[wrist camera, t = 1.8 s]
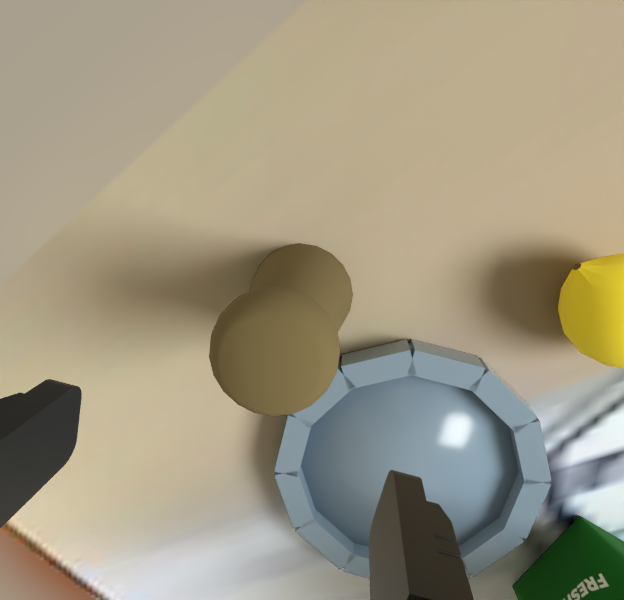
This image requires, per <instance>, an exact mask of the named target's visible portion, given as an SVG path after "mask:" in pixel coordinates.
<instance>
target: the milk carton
mask: <svg viewBox="0 0 624 600" xmlns="http://www.w3.org/2000/svg"><path fill="white" fill-rule="evenodd" d="M513 589H514V591H515V593H516V596H517V598H518V600H624V542H623V541H622V540H620V539H618V538H617V537H615V536H613V535H611V534H610V533H608V532H606V531H605V530H603V529H601V528H600V527H598V526H596V525H594V524H593V523H591V522H589V521H588V520H586V519H584V518H583V517H581V516H579V517H578V518H577V519H576V520H575V521H574V522H573V524H572V525H571V526H570V527H569V528H568V529H567V530H566V531H565V532H564V533H563V534H562V535H561V536H560V537H559V538H558V539H557V540H556V541H555V542H554V543H553V544H552V546H551V547H550V548H549V549H548V550H547V551H546V552H545V553H544V554H543V555H542V556H541V557H540V558H539V559H538V560H537V561H536V562H535V563H534V564H533V565H532V566H531V568H530V569H529V570H528V571H527V572H526V573H525V574H524V575H523V576H522V577H521V578H520V579H519V580H518V581H517V582H516V583H515V584H514V585H513Z"/></svg>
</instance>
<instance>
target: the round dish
mask: <svg viewBox="0 0 624 600" xmlns="http://www.w3.org/2000/svg"><path fill="white" fill-rule="evenodd" d="M390 470H395V471H398V472H402V473H406V474H410V475H414V476H417V477H420V478H421V479H422V483H423V487H424V492H425V496H426V501H429V502H433V503H437V504H439V505H440V506H441V508H442V509H443V511H444V512H445V513H446V515H447V516H448V518H449V519H450V520H451V522H452V525H453V529H454V532H455V536H456V539H457V541H456V543H457V544H458V546H459V550H460V553H461V559H462V561H463V564H464V568H465V571H466V575H467V578H468V579H469V574H468V572H469V573H470V574H471V575H472V576H473V577H474V576H476V575H477V574H479V573H480V572H481V571H483V570H484V569H486V568H487V567H489V566H490V565H492V564H493V563H494V562H496V561H497V560H499V559H500V558H502V557H503V556H505V555H506V554H507V553H509V552H510V551H512V550H513V549H515V548H516V547H518V546H519V545H520V544H522V543H523V542H524V541H523V539H522V538H525V539H527V537H528V535H529V533H530V530H531V528H532V526H533V524H534V522H535V519H536V517H537V515H538V513H539V510H540V508H541V506H542V504H543V502H544V499H545V497H546V495H547V493H548V491H549V488H550V486H551V484H550V483H549V481H551V476H550V471H549V466H548V461H547V456H546V451H545V446H544V441H543V436H542V431H541V426H540V421H539V420H538V418H537V416H536V415H535V413H534V412H533V411H532V409H531V408H530V407H529V405H528V404H527V403H526V402H525V401H524V400H523V399H522V398H521V397H520V396H519V395H518V394H517V393H516V392H515V391H514V390H513V389H512V388H511V387H510V386H509V385H508V384H507V383H506V382H505V381H504V380H503V379H502V378H501V377H500V376H499V375H498V374H497V373H496V372H495V371H494V370H493V369H492V368H491V367H490V366H489V365H487V364H486V363H485V362H484V361H483V360H482V359H480V360H479V358H478V357H477V356H475V355H471V354H467V353H463V352H459V351H456V350H452V349H448V348H444V347H440V346H436V345H432V344H428V343H424V342H421V341H417V340H413V339H411V342H410V343H408V342H407V339H405V340H401V341H397V342H393V343H389V344H385V345H380V346H376V347H372V348H368V349H364V350H360V351H356V352H352V353H347V354H343V355H342V360H341V359H340V358H339V362H338V368H337V374H336V375H335V377H334V379H333V381H332V383H331V384H330V386H329V388H328V390H327V391H326V392H325V393H324V394H323V395H322V396H321V397H320V398H319V399H318V400H317V401H316V402H315V403H313V404H312V405H311V406H310V407H308V408H305V409H303V410H301V411H299V412H296V413H294V414H288V418H287V422H286V426H285V430H284V434H283V438H282V442H281V446H280V450H279V454H278V458H277V462H276V466H275V470H274V471H275V474H274V476H275V479H276V481H277V484H278V487H279V490H280V493H281V495H282V498H283V501H284V504H285V507H286V510H287V512H288V515H289V518H290V521H291V524H292V526H293V528H296V532H297V533H298V534H299V535H300V536H301V537H303V538H304V539H305V540H306V541H307V542H308V543H310V544H311V545H312V546H313V547H314V548H315V549H317V550H318V551H319V552H320V553H321V554H322V555H324V556H325V557H326V558H327V559H328V560H329V561H331V562H332V563H333V564H334V565H335V566H336V567H337V568H339V569H341V568H343V567H344V572H347V573H351V574H355V575H358V576H362V577H366V578H369V579H370V572H369V536H370V529H371V525H372V521H373V517H374V514H375V511H376V508H377V505H378V502H379V499H380V496H381V493H382V490H383V487H384V484H385V481H386V478H387V475H388V473H389V471H390Z"/></svg>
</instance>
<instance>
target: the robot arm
mask: <svg viewBox="0 0 624 600" xmlns="http://www.w3.org/2000/svg"><path fill="white" fill-rule="evenodd" d="M80 405H81V389H80V388H79V387H78V386H74V385H70V384H66V383H62V382H59V381H55V380H51V379H48V380H45V381H44V382H42V383H40V384H39V385H37V386H36V387H34V388H33V389H31V390H30V391H28V392H27V393H25V394H23V393H17V394H14V395H11V396H8V397H5V398H2V399H0V528H1V527H2V526H3V525H4V524H5V523H6V522H7V521H8V520H9V519H10V518H11V517H12V516H13V515H14V514H15V513H16V512H17V511H18V510H19V509H20V508H21V507H22V506H24V505H25V504H26V503H27V502H28V501H29V500H30V499H31V498H32V497H33V496H34V495H35V494H36V493H37V492H38V491H39V490H40V489H41V488H42V487H43V486H44V485H45V484H46V483H47V482H48V481H49V480H50V479H51V478H52V477H53V476H54V475H55V474H56V473H57V472H58V471H59V470H60V469H61V468H62V467H63V466H64V465H65V464H66V463H67V461H68V460H69V458H70V456H71V455H72V453H73V450H74V448H75V445H76V441H77V432H78V423H79V414H80ZM456 541H457V539H456V536H455V532H454V529H453V525H452V522H451V520H450V519H449V518H448V516H447V515H446V513H445V512H444V511H443V509H442V508H441V506H440V505H439V504H437V503H433V502H429V501H426V496H425V492H424V487H423V483H422V479H421V478H420V477H417V476H414V475H410V474H406V473H402V472H398V471H395V470H390V471H389V473H388V475H387V478H386V481H385V484H384V487H383V490H382V493H381V496H380V499H379V502H378V505H377V508H376V511H375V514H374V517H373V521H372V525H371V529H370V536H369V572H370V599H371V600H473V596H472V593H471V589H470V585H469V582H468V578H467V575H466V571H465V568H464V564H463V561H462V559H461V553H460V550H459V546H458V544H457V543H456Z"/></svg>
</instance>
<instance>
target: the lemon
mask: <svg viewBox="0 0 624 600" xmlns="http://www.w3.org/2000/svg"><path fill="white" fill-rule="evenodd" d="M558 313H559V317H560V320H561V324H562V328H563V332H564V334H565V335H566V336H567V337H568V338H569V340H570V341H571V342H572V343H573V344H574V345H575V347H576V348H577V349H578V350H579V351H580V352H581V353H582V354H584V355H586V356H588V357H590V358H592V359H594V360H596V361H598V362H600V363H602V364H605V365H607V366H613V367H619V368H624V254H616V255H611V256H605V257H600V258H595V259H592V260H589V261H586V262H582V263H579V264H577V265H575V266H574V267H573V268H572V270H571V272H570V274H569V275H568V277H567V279H566V281H565V282H564V284H563V286H562V287H561V292H560V298H559V304H558Z"/></svg>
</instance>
